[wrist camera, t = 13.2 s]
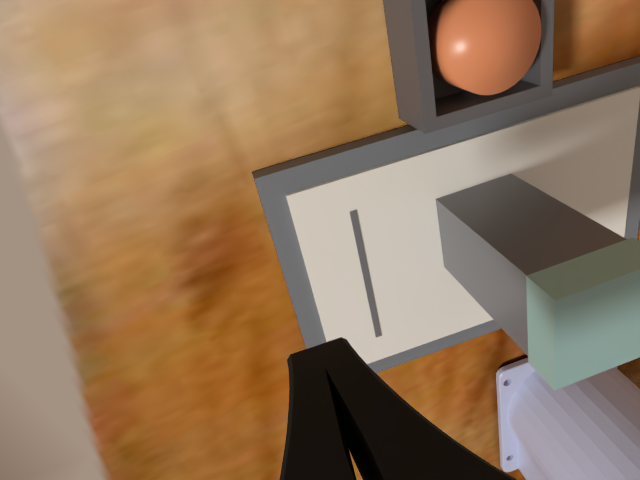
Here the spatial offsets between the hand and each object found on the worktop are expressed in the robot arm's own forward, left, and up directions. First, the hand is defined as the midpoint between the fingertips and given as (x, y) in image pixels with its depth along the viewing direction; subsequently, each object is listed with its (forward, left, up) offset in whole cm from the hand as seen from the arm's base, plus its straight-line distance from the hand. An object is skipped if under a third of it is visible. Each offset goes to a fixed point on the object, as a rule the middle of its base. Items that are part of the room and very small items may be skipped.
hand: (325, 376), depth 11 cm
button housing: (+5, -9, -10) cm, 14 cm away
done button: (+4, -9, -9) cm, 14 cm away
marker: (-3, -9, -9) cm, 13 cm away
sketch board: (-4, -9, -10) cm, 14 cm away
